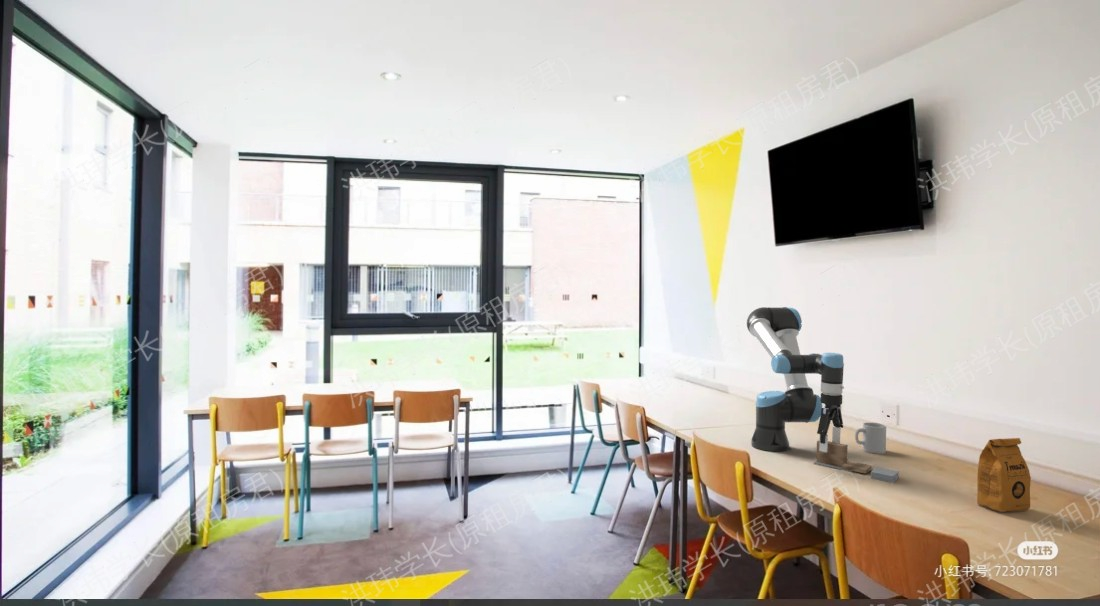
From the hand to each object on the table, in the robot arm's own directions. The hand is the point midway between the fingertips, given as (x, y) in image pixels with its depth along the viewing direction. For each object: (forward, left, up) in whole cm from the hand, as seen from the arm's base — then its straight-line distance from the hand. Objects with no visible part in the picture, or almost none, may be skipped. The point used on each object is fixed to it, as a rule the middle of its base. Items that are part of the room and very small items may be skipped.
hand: (829, 447), depth 219 cm
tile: (+20, +2, -5) cm, 20 cm away
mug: (+5, +31, -7) cm, 32 cm away
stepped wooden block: (+5, -1, -6) cm, 8 cm away
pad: (+2, 0, -6) cm, 7 cm away
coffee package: (+54, -8, -7) cm, 55 cm away
